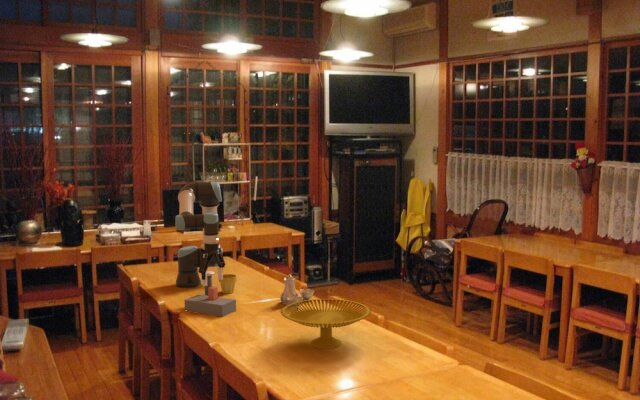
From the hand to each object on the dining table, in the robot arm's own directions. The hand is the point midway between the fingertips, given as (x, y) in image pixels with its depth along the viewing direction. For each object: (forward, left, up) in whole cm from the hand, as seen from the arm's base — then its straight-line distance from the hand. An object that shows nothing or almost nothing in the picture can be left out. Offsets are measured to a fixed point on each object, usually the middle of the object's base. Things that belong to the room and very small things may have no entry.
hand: (212, 282), depth 343 cm
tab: (0, 0, -15) cm, 15 cm away
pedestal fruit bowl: (+77, -22, -15) cm, 82 cm away
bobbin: (-10, +9, -15) cm, 20 cm away
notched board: (0, -3, -15) cm, 15 cm away
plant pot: (-14, +33, -15) cm, 39 cm away
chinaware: (+33, +29, -15) cm, 47 cm away
